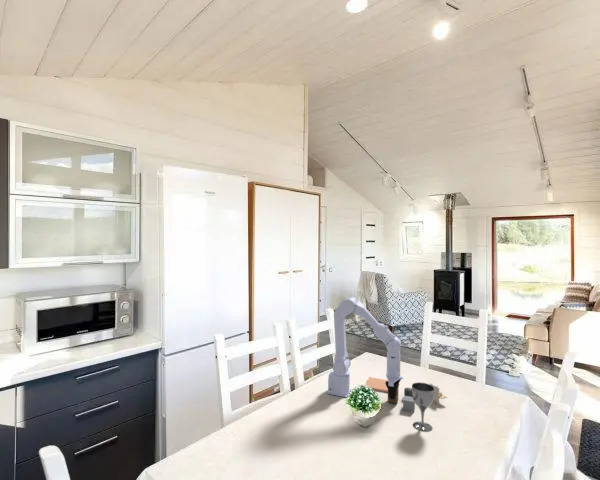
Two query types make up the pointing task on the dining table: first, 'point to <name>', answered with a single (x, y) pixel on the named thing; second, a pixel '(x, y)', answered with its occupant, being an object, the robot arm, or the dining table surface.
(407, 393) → the rubber cylinder
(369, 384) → the terracotta tile
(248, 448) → the dining table surface
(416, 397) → the wine glass
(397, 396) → the walnut block
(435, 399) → the architectural model
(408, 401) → the grey cube
